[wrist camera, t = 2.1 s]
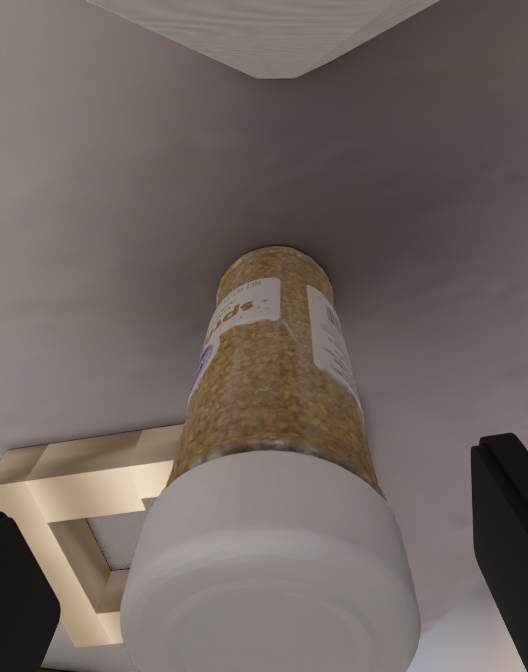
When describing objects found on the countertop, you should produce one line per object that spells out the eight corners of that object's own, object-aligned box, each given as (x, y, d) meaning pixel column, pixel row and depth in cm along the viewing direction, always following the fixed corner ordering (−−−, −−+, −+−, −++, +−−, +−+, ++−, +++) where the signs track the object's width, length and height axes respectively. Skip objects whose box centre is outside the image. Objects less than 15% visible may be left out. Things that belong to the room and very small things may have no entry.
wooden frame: (355, 398, 21) (363, 433, 19) (380, 572, 26) (389, 616, 24) (8, 450, 23) (-20, 487, 21) (91, 604, 28) (75, 647, 25)
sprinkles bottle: (218, 238, 18) (98, 532, 6) (342, 248, 18) (465, 559, 6) (215, 348, 20) (120, 730, 8) (326, 357, 20) (395, 750, 8)
